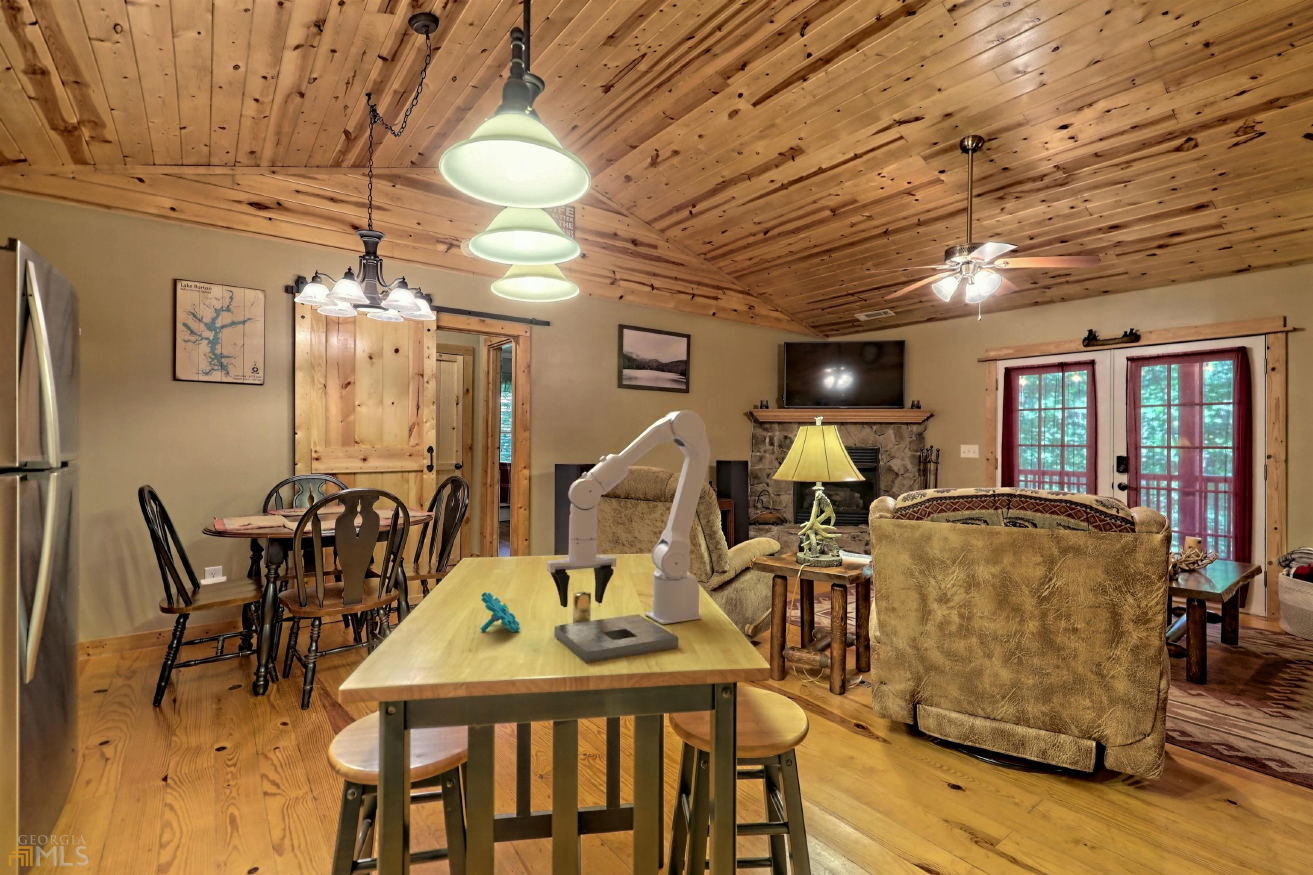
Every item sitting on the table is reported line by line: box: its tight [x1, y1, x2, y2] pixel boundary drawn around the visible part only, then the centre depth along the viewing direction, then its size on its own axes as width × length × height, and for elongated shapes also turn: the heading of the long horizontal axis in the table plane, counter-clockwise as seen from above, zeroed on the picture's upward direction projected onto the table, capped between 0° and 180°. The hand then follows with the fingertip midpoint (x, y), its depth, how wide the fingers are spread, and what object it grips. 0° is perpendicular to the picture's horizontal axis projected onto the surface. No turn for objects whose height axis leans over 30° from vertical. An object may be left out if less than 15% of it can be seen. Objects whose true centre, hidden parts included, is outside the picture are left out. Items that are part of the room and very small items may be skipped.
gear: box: [480, 591, 521, 633], centre depth 124 cm, size 11×6×10 cm
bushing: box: [572, 590, 592, 623], centre depth 130 cm, size 4×4×6 cm
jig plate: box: [553, 614, 679, 664], centre depth 118 cm, size 18×16×2 cm
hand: (581, 603), depth 130 cm, fingers open, 7 cm apart
